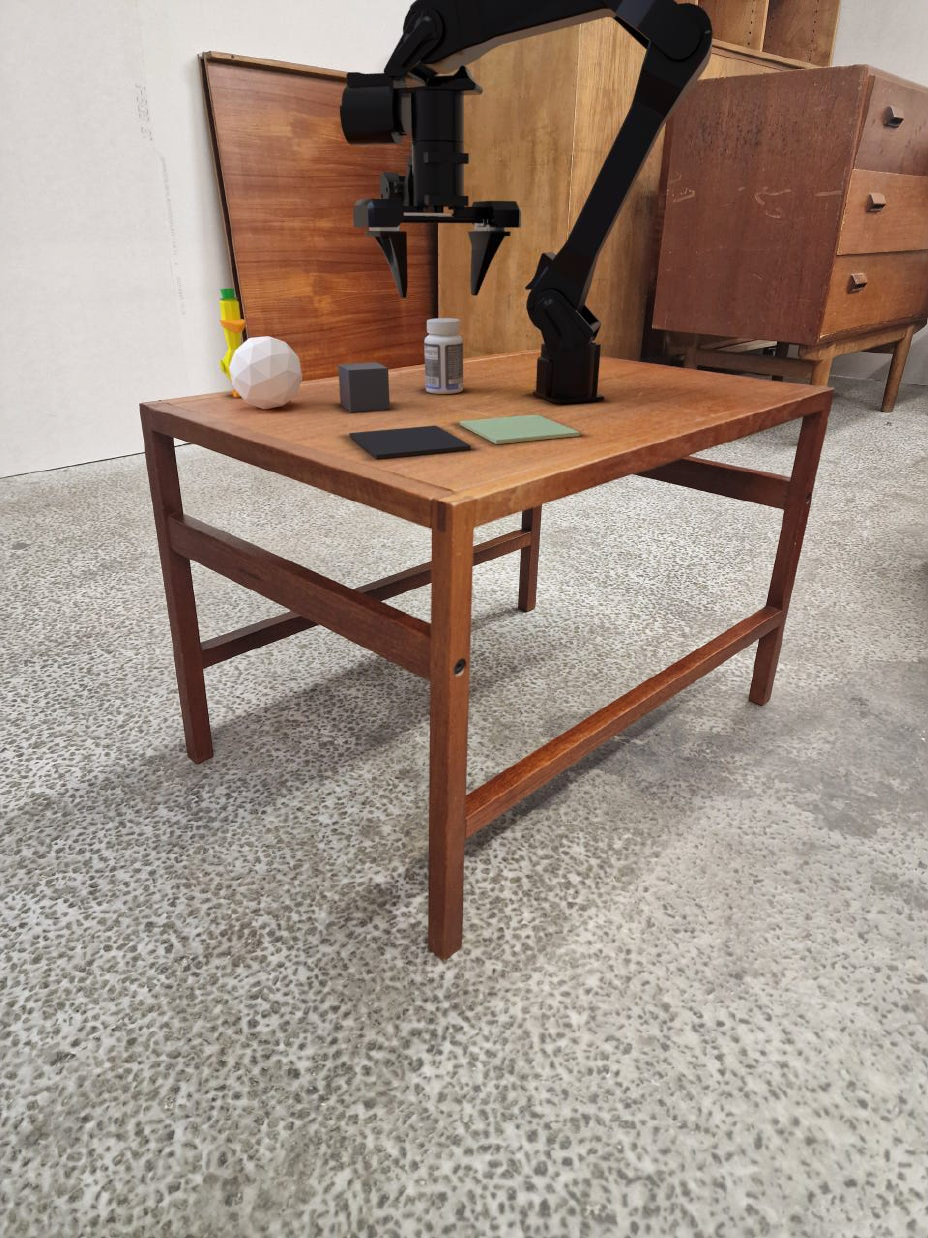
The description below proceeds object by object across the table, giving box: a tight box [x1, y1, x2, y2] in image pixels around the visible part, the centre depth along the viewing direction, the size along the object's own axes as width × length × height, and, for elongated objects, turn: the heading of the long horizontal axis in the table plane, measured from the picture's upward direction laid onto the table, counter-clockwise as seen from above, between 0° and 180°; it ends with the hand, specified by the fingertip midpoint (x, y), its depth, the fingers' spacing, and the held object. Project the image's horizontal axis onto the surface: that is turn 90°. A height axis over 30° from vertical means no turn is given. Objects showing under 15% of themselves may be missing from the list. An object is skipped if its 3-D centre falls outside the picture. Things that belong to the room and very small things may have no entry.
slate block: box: [337, 361, 391, 413], centre depth 90 cm, size 4×4×4 cm
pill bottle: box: [423, 317, 464, 395], centre depth 98 cm, size 5×5×8 cm
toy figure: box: [219, 288, 247, 398], centre depth 94 cm, size 7×4×12 cm, turn 26°
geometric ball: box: [229, 335, 303, 410], centre depth 89 cm, size 8×8×8 cm
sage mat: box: [459, 414, 580, 445], centre depth 80 cm, size 9×9×1 cm
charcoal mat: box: [348, 425, 472, 460], centre depth 75 cm, size 9×9×1 cm
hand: (439, 296), depth 95 cm, fingers open, 9 cm apart
